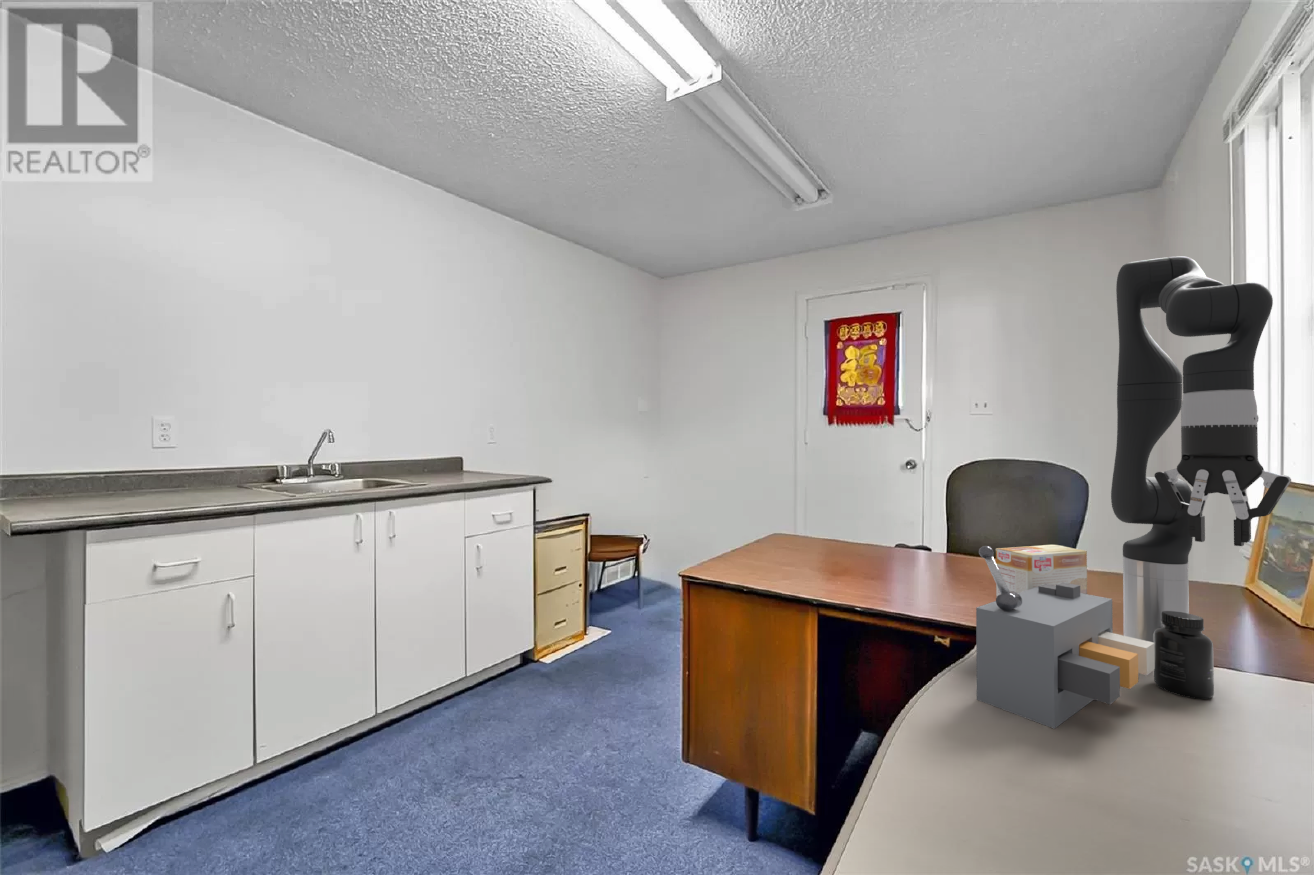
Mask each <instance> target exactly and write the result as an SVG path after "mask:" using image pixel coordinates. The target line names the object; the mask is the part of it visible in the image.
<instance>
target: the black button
mask: <svg viewBox="0 0 1314 875" xmlns="http://www.w3.org/2000/svg"><path fill="white" fill-rule="evenodd" d="M1058 688H1060V689H1063V690H1066V691H1069V692H1073V693H1076V694H1079V695H1082V696H1085V697H1088V698H1091V699H1094V700H1093V701H1097V702H1101V703H1104V704H1108V705H1111V704H1112V703H1114V702H1115V701H1117V700H1118V699H1119V698H1121V686H1120V667H1119V666H1115V665H1111V664H1108V663H1104V662H1100V661H1097V660H1093V659H1089V658H1086V657H1082V656H1078V655H1074V654H1071V653H1067V652H1064V653H1063V654H1061V655H1059V656H1058Z"/></svg>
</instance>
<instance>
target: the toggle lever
mask: <svg viewBox="0 0 1314 875" xmlns="http://www.w3.org/2000/svg"><path fill="white" fill-rule="evenodd" d="M978 555H979V556H980V557H981V558H983V559H984V560H985V563H986V564H987V567H988V569H989V572H990V574H991V575H992V576H991V577H993V580H994V582H995V584H997V587H998V589H999V591H1000V593H1001V594H1000V595H998V596H997V598H995V601H996V604H997V606H998V607H999V608H1000V609H1002V610H1005V611H1009V610H1012V609H1014V608H1017V607H1019V606H1021V604H1022V598H1021V596H1020V595H1019V594H1018V593H1016V592H1013V591H1010V592H1009V590H1008V587H1007V585H1006V583H1005V581H1004V579H1003V577H1002V575H1001V573H1000V571H999V568H998V566H997V564H996V559H995V558H994V555H995V552H994V550H993V548H992V547H991V546H989V545H982V546H981V547H980V548H978Z"/></svg>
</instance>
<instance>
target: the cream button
mask: <svg viewBox="0 0 1314 875" xmlns="http://www.w3.org/2000/svg"><path fill="white" fill-rule="evenodd" d="M1098 644H1100V645H1104V646H1108V647H1112V648H1116V649H1120V650H1124V651H1128V652H1132V653H1136V654H1138V674H1140V675H1145V676H1148V675H1149V674H1150V673H1152V672H1154V669H1155V648H1154V643H1153V642H1149V641H1145V640H1140V639H1136V638H1132V637H1127V636H1124V634H1120V633H1119V634H1118V633H1114V632H1113V633H1110V632H1106V631H1103V632H1101V633H1099V634H1098Z"/></svg>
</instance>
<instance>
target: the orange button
mask: <svg viewBox="0 0 1314 875" xmlns="http://www.w3.org/2000/svg"><path fill="white" fill-rule="evenodd" d="M1079 656H1082V657H1086V658H1089V659H1093V660H1097V661H1100V662H1104V663H1108V664H1111V665H1115V666H1119V667H1120V688H1125V689H1128V690H1130V689H1132V688H1133V687H1134V686H1135V685H1137V684H1138V683H1139V673H1138V654H1136V653H1132V652H1128V651H1124V650H1120V649H1116V648H1112V647H1108V646H1104V645H1100V644H1096V643H1092V642H1088V641H1084V642H1083V643H1081V644H1079Z"/></svg>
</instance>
